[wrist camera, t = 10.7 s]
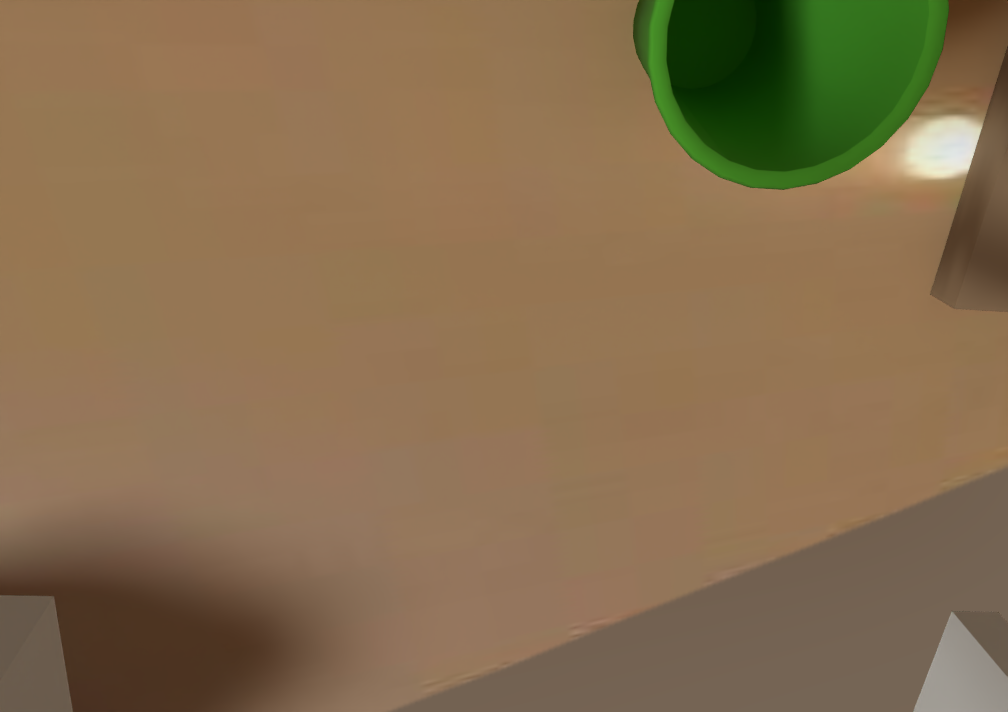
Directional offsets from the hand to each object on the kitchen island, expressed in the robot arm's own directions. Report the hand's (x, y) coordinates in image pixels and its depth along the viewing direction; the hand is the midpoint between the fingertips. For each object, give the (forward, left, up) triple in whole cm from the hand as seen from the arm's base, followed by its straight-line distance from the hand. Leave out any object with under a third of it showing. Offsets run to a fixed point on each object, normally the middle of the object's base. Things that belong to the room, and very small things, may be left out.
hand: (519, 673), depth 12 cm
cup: (-9, +9, -27) cm, 30 cm away
